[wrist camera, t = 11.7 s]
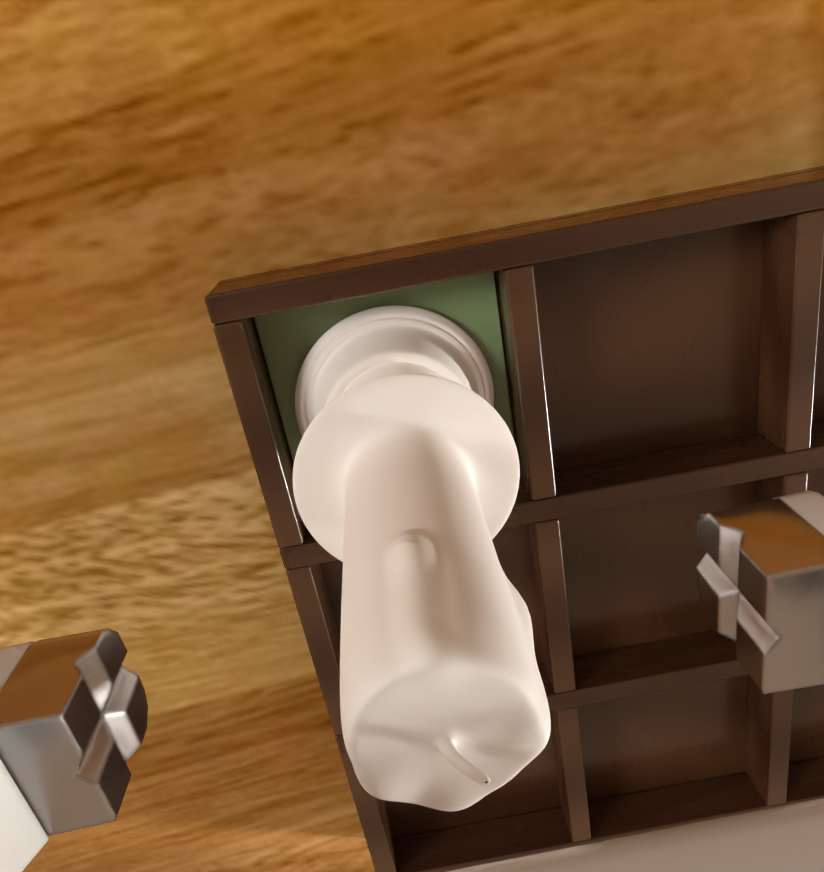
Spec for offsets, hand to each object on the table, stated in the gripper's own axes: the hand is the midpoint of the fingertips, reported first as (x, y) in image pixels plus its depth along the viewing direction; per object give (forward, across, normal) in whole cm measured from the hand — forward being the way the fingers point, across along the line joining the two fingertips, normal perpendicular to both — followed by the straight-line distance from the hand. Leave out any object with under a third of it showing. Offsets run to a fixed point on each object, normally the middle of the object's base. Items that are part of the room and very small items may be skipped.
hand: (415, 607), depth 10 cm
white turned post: (+10, 0, +1) cm, 10 cm away
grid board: (+10, -7, +8) cm, 15 cm away
